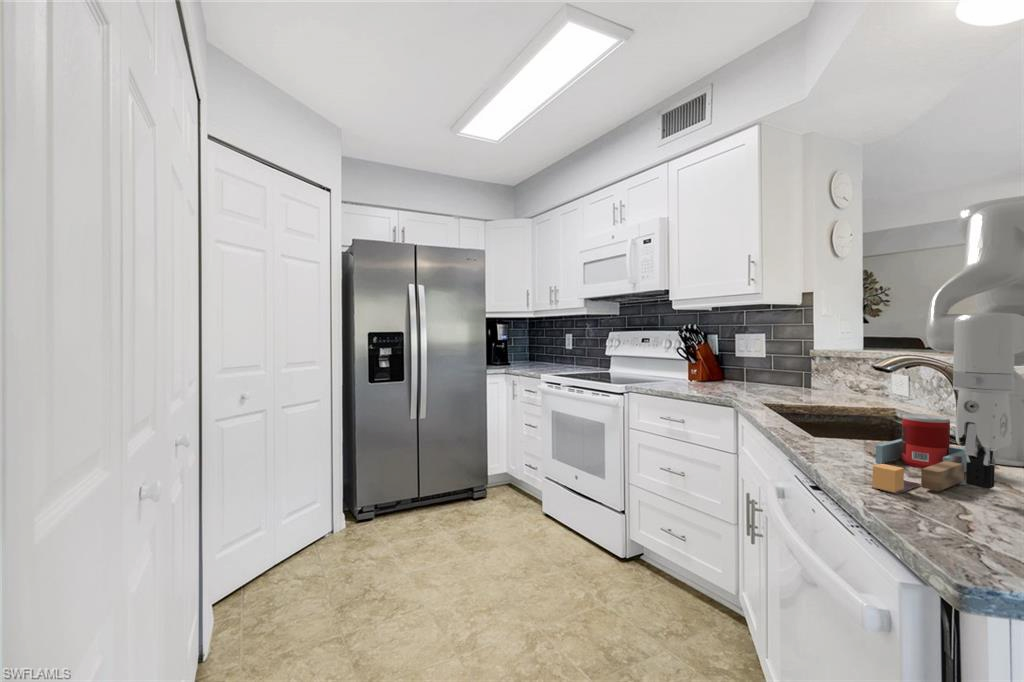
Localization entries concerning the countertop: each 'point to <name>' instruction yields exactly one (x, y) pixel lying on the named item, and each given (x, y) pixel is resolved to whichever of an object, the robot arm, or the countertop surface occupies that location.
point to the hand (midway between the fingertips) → (979, 485)
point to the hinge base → (962, 483)
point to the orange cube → (888, 477)
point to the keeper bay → (894, 451)
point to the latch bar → (943, 474)
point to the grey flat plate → (907, 486)
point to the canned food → (924, 439)
